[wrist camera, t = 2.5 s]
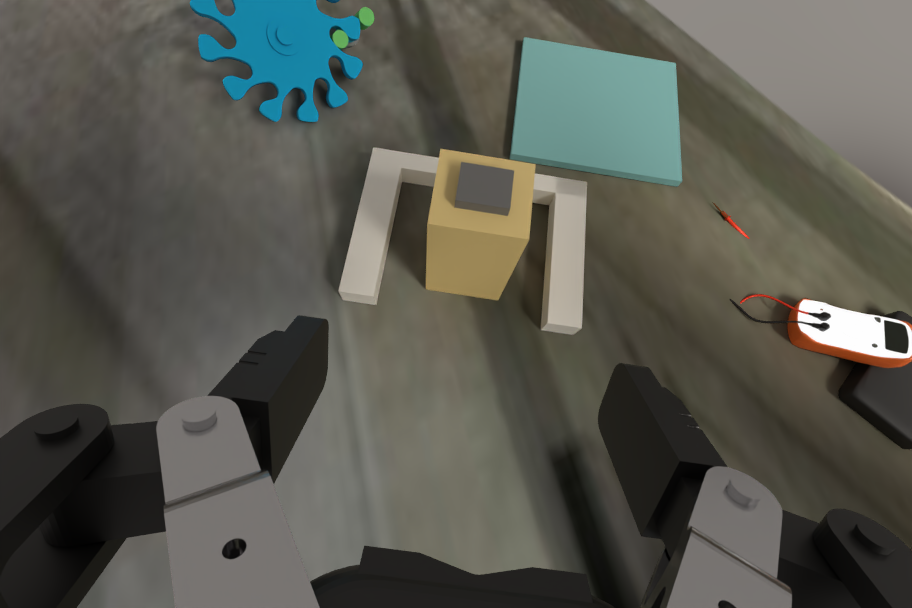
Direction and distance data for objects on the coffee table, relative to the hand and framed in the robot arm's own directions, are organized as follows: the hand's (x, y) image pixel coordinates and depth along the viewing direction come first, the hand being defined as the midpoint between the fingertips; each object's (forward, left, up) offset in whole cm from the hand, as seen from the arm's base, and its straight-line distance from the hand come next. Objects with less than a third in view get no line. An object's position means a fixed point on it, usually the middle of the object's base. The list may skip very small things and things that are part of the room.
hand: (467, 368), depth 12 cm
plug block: (0, -9, -13) cm, 16 cm away
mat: (-8, -23, -13) cm, 27 cm away
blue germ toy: (+13, -21, -13) cm, 28 cm away
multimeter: (-21, -8, -13) cm, 26 cm away
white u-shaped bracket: (0, -10, -13) cm, 16 cm away
